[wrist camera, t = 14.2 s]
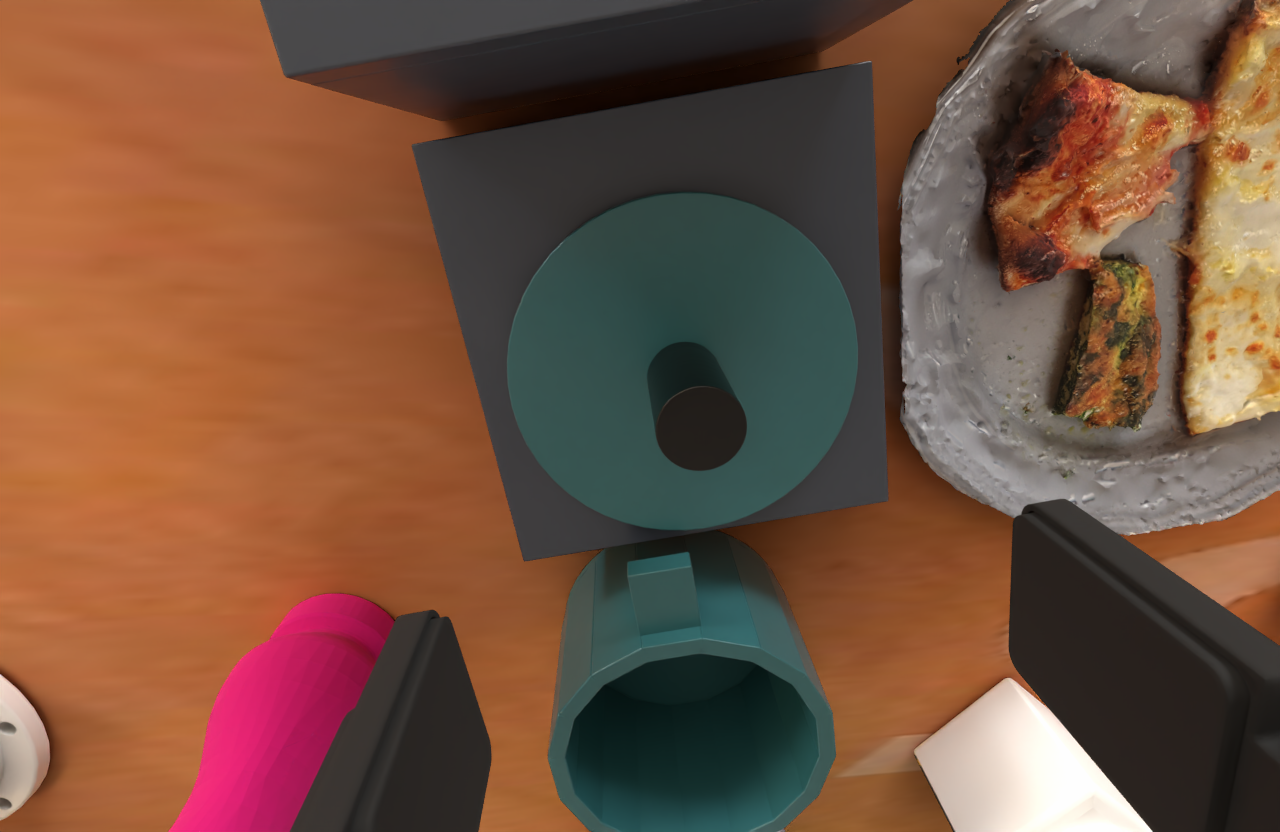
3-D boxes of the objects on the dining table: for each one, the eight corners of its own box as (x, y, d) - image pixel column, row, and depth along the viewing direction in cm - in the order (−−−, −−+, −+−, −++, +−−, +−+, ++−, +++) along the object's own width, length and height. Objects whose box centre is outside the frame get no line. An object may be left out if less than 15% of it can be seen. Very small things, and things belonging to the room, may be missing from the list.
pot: (597, 757, 37) (593, 916, 29) (531, 497, 31) (503, 608, 23) (796, 725, 37) (846, 877, 29) (767, 457, 31) (820, 556, 23)
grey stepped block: (536, 503, 32) (489, 713, 19) (368, -164, 22) (77, -559, 10) (847, 451, 31) (996, 631, 19) (805, -249, 22) (1040, -763, 10)
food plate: (876, -44, 24) (918, -78, 21) (1515, -144, 24) (1660, -195, 21) (884, 540, 33) (914, 581, 30) (1351, 473, 33) (1434, 507, 29)
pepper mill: (443, 657, 34) (242, 1236, 16) (337, 717, 36) (32, 1324, 17) (351, 558, 32) (-14, 1099, 14) (240, 626, 33) (-236, 1212, 15)
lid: (551, 540, 27) (534, 641, 21) (473, 225, 22) (424, 245, 16) (856, 489, 26) (923, 577, 21) (837, 160, 22) (917, 157, 16)
